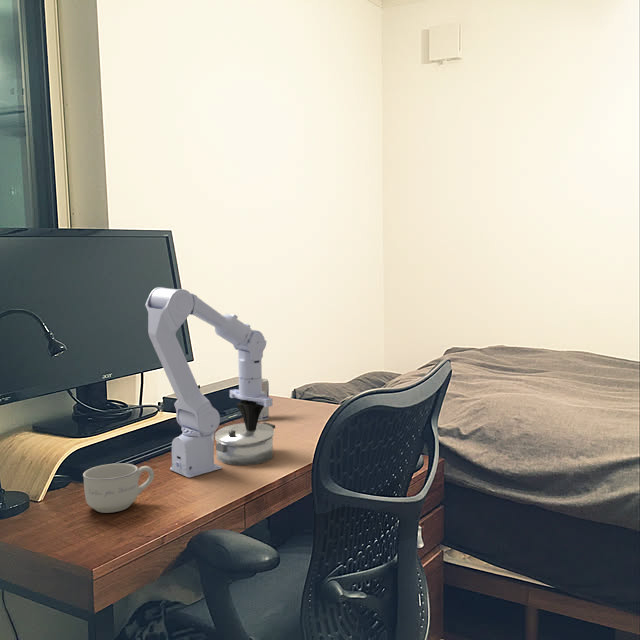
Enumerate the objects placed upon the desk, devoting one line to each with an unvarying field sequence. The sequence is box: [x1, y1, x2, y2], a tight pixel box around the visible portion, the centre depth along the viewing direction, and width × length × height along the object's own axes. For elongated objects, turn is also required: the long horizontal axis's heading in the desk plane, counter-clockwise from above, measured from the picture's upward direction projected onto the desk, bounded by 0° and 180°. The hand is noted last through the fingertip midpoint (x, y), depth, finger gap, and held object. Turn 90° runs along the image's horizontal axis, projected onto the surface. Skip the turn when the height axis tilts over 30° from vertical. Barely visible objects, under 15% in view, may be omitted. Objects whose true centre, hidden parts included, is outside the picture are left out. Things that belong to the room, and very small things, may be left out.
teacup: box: [82, 462, 155, 514], centre depth 142 cm, size 14×11×8 cm
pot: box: [215, 437, 274, 466], centre depth 175 cm, size 15×14×4 cm
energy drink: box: [258, 378, 270, 422], centre depth 210 cm, size 5×5×12 cm
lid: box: [214, 421, 276, 446], centre depth 175 cm, size 16×15×2 cm
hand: (251, 429), depth 176 cm, fingers closed, pressing on lid
